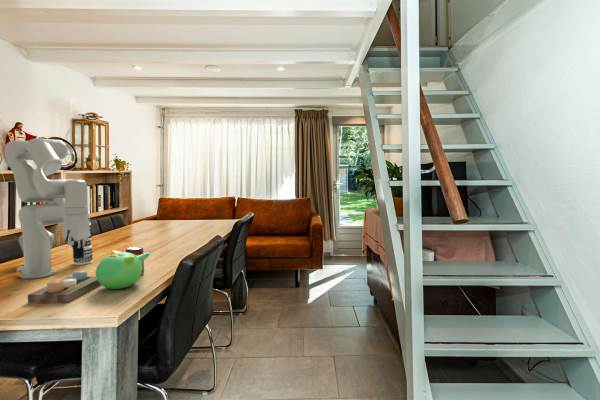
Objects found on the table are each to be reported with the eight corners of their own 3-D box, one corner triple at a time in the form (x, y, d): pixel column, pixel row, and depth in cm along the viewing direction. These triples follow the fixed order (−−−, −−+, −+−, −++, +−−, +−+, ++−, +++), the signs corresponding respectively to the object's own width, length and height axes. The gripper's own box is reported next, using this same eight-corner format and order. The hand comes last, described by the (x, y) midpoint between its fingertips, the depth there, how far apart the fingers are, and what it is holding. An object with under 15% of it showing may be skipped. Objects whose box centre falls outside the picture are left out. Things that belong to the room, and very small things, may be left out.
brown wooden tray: (28, 303, 121) (27, 294, 121) (69, 283, 143) (68, 276, 142) (68, 302, 121) (68, 294, 121) (103, 283, 143) (103, 276, 143)
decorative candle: (88, 259, 185) (86, 212, 183) (97, 262, 179) (95, 213, 178) (69, 263, 177) (67, 214, 176) (77, 265, 172) (75, 215, 170)
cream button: (57, 293, 129) (57, 282, 129) (66, 288, 134) (66, 278, 134) (71, 293, 129) (70, 282, 129) (79, 288, 134) (79, 278, 134)
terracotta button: (43, 295, 122) (43, 284, 122) (53, 291, 127) (53, 280, 127) (58, 295, 122) (57, 284, 122) (67, 291, 127) (67, 280, 127)
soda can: (137, 277, 152) (136, 250, 151) (122, 276, 153) (121, 249, 152) (147, 272, 159) (146, 246, 158) (133, 272, 160) (132, 246, 159)
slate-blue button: (69, 283, 136) (69, 273, 136) (77, 280, 141) (77, 270, 141) (82, 283, 136) (82, 273, 136) (90, 279, 141) (89, 270, 141)
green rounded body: (110, 281, 146) (109, 246, 145) (151, 280, 148) (150, 245, 147) (87, 295, 128) (86, 256, 127) (135, 294, 130) (133, 255, 129)
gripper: (79, 209, 144) (80, 253, 145) (53, 213, 129) (56, 262, 130) (97, 209, 144) (99, 253, 145) (74, 213, 129) (76, 262, 130)
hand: (78, 257), depth 138 cm, fingers closed
